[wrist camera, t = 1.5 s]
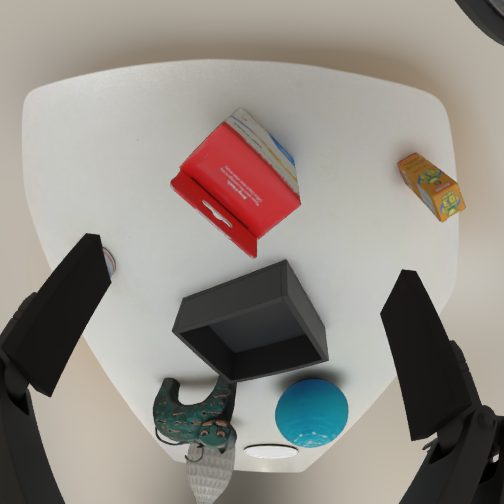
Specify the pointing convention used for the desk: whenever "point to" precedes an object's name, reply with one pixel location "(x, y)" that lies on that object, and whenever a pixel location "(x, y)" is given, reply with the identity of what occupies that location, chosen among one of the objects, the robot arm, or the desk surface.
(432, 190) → the supplement box
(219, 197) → the ink box
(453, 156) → the desk surface
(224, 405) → the ceramic cat
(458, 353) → the robot arm
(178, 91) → the desk surface
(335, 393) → the decorative orb
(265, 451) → the plate
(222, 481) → the vase
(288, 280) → the basket
